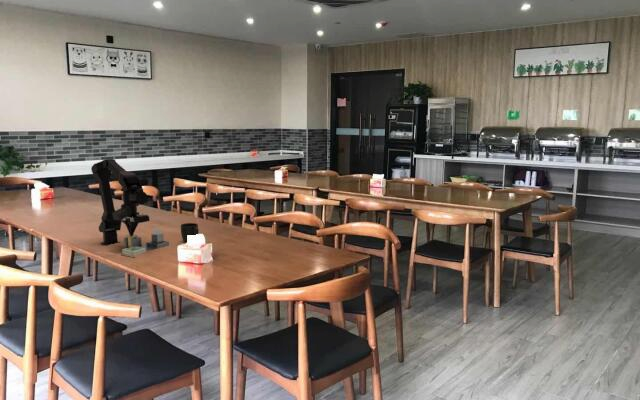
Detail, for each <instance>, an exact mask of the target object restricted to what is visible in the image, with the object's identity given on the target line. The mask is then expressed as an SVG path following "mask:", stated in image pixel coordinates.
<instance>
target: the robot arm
mask: <svg viewBox="0 0 640 400" xmlns="http://www.w3.org/2000/svg"><path fill="white" fill-rule="evenodd" d="M90 171H91V173H92V175H93V178H94V179H95V181H97V182H98V187H99V192H100V197H101V198H100V199H101V203H102V208H103V213H102V215H101V222H100V223H99V226H98V232H100V233H102V239H103V241H101V242H100V244H101V245H107V246H111V245H115V244H119V243H121V242H120V241H118V231H121V227H122V223H123V224H125V227H126V228H127V232H128V235H131V236H132V235H133V234H134V235H135V232H136V230H137V227H138V225H139V224H141V223H145V222H150V215H148V214H143V213H142V214H140V212H138V207H139V206H140V205H144V204H146V203H147V201H148V198H149V197H148V195H147V192H145V191H144V188H143V185H142V183H141V181H140V179H139V177H138V175H137V174H136V173H133V172H132V171H127V170H126V168H124V167H123V166H121V165H120V164H119V163H118V162H117V160H115V159H114V158H106V159H105V158H104V159H103V160H102V161H101V160H100V161H98V162H96V163H94V164H93V165H92V166H91V169H90ZM112 175H114V176H115V177H116V178H117V180H118V183H119V185H120V186H121V189H120V192H122V195H123V197H122V200H123V202H122V204H121V205H120V208H118V209H115V205H114V200H113V198H114V197H113V194H112V190H111V184H110V179H111V178H112V177H111V176H112Z"/></svg>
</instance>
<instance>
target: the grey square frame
mask: <svg viewBox="0 0 640 400" xmlns="http://www.w3.org/2000/svg"><path fill="white" fill-rule="evenodd" d="M146 252H147V251H146V249H145V248H142V247H137V246H136V247H130V248H122V249H121V253H122V254H120V256H121V257H125V258H131V259H135V258H136V257H135V256H137V255H141V254H144V253H146Z"/></svg>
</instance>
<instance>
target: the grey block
mask: <svg viewBox="0 0 640 400" xmlns="http://www.w3.org/2000/svg"><path fill="white" fill-rule="evenodd" d="M150 236H151V241H152V243H156V244H158V243H162V242H164V241H165V239H164V233H162V228H161V227H158V228H156V227H155V228H153V233H152V234H151V235H150Z"/></svg>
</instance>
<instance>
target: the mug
mask: <svg viewBox="0 0 640 400" xmlns="http://www.w3.org/2000/svg"><path fill="white" fill-rule="evenodd" d="M199 231H200V230H199V224H198V223H195V222H189V223H188V222H186V223H182V224H180V235H181V239H182V241H183V243H186V242H187V235H196V234H198V235H199ZM186 244H187V243H186Z"/></svg>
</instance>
